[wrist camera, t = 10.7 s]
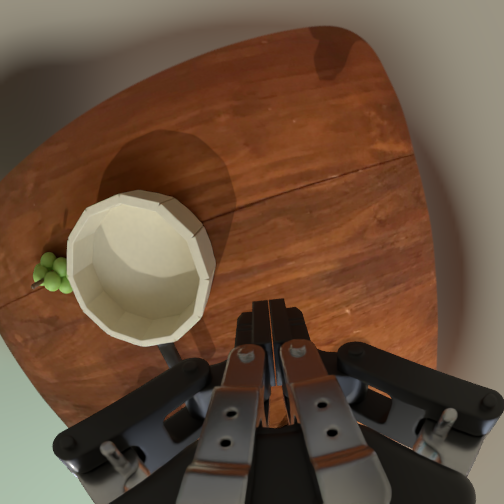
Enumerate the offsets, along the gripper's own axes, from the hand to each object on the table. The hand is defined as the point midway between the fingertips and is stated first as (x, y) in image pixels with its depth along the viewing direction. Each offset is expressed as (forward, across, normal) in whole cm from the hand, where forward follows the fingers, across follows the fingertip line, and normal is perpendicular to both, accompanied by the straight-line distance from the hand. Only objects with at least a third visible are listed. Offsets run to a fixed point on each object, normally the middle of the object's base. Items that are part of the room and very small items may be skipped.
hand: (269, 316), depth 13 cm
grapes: (+13, +24, 0) cm, 28 cm away
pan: (+13, +11, +5) cm, 18 cm away
